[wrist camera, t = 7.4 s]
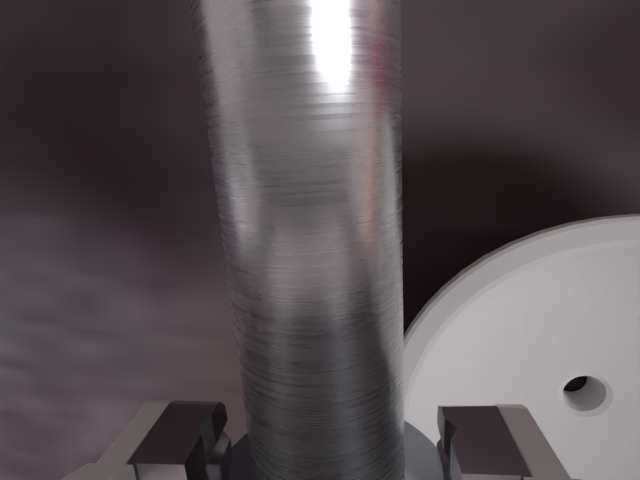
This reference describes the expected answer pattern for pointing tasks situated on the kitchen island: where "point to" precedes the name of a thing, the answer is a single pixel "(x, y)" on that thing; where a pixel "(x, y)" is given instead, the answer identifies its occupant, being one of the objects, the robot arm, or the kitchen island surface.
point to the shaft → (312, 232)
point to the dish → (541, 342)
